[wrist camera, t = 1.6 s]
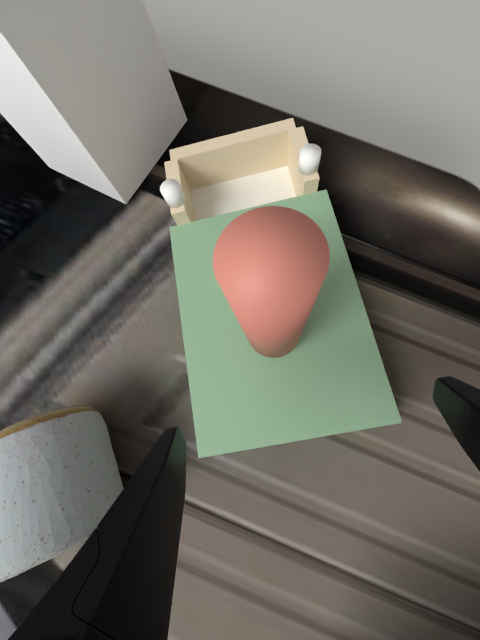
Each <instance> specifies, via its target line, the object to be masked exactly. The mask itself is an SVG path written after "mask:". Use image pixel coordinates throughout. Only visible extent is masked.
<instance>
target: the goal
mask: <svg viewBox="0 0 480 640" xmlns="http://www.w3.org/2000/svg"><path fill="white" fill-rule="evenodd" d="M169 151H170V159H171V161H167V162H164V164H165V171H166V179H167V180H166V181H164V182H163V183H162V184H161V186H160V192H161V193H162V195H163V197H164V199H165V200H166V202H167V204H168V206H169V207H170V210H171V215H172V217H173V218H174V220H175V222H176V224H177V225H182V224H186V223H190V222H193V221H197V220H201V219H205V218H209V217H213V216H218V215H222V214H226V213H230V212H234V211H239V210H243V209H247V208H251V207H255V206H259V205H264V204H268V203H272V202H276V201H280V200H284V199H289V198H293V197H297V196H301V195H307V194H311V193H315V192H317V189H318V184H319V179H320V178H319V175H318V168H319V162H320V157H321V148H320V147H319V146H318V145H316V144H309V143H308V140H307V137H306V134H305V131H304V128H303V127H299V128H296V126H295V123H294V120H293V118H290V119H286V120H283V121H279V122H275V123H271V124H267V125H263V126H260V127H256V128H252V129H248V130H244V131H240V132H237V133H233V134H229V135H225V136H221V137H217V138H214V139H210V140H206V141H202V142H198V143H194V144H191V145H187V146H183V147H179V148H175V149H171V150H169Z"/></svg>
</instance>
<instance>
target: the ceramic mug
mask: <svg viewBox="0 0 480 640" xmlns="http://www.w3.org/2000/svg"><path fill="white" fill-rule="evenodd" d="M123 489H124V488H123V485H122V481H121V478H120V474H119V470H118V466H117V462H116V459H115V456H114V452H113V449H112V445H111V441H110V437H109V433H108V429H107V426H106V424H105V422H104V419H103V417H102V415H101V414H100V412H99V411H98V410H97V409H94V408H92V407H89V406H77V407H69V408H64V409H58V410H54V411H50V412H47V413H43V414H40V415H36V416H33V417H30V418H28V419H25V420H23V421H20V422H18V423H15V424H13V425H11V426H9V427H7V428H5V429H3V430H2V431H0V582H2V581H5V580H6V579H9V578H11V577H14V576H16V575H18V574H19V573H22V572H25V571H26V570H28V569H30V568H32V567H34V566H36V565H39V564H41V563H43V562H45V561H47V560H49V559H51V558H53V557H55V556H57V555H59V554H61V553H63V552H65V551H67V550H68V549H70V548H72V547H73V546H75V545H77V544H78V543H80V542H81V541H83V540H85V539H87V538H89V536H90V535H91V533H92V532H93V531H94V529H95V528H97V525H98V524H99V522H100V521H101V520H102V518H103V517H104V515H105V514H106V513H107V511H108V510H109V508H110V507H111V506H112V504H113V503H114V501H115V500H116V499H117V497H118V496H119V494H120V493H121V491H122V490H123Z"/></svg>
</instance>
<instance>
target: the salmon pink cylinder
mask: <svg viewBox="0 0 480 640" xmlns="http://www.w3.org/2000/svg"><path fill="white" fill-rule="evenodd" d="M329 262H330V251H329V246H328V242H327V240H326V237H325V235H324V233H323V232H322V230H321V229H320V227H319V226H318V225H317V224H316V223H315V222H314V221H313V220H312V219H311V218H309V217H308V216H306V215H305V214H303V213H301V212H299V211H297V210H294V209H291V208H287V207H282V206H265V207H259V208H256V209H252V210H250V211H247V212H245V213H243V214H241V215H240V216H238V217H237V218H235V219H234V220H233V221H232V222H230V223H229V224H228V225H227V226H226V228H225V229H224V230H223V231H222V233H221V234H220V236H219V238H218V240H217V242H216V245H215V248H214V252H213V269H214V274H215V277H216V279H217V282H218V284H219V285H220V287H221V289H222V291H223V293H224V295H225V297H226V299H227V301H228V303H229V304H230V306H231V308H232V310H233V312H234V314H235V316H236V318H237V320H238V322H239V324H240V325H241V327H242V329H243V331H244V333H245V335H246V337H247V339H248V341H249V343H250V345H251V346H252V348H253V349H254V350H255V351H256V352H258V353H259V354H261V355H263V356H265V357H269V358H278V357H282V356H285V355H287V354H289V353H290V352H291V351H292V350H293V349H294V348H295V347H296V345H297V344H298V341H299V339H300V336H301V334H302V332H303V329H304V327H305V325H306V322H307V320H308V317H309V315H310V313H311V310H312V308H313V305H314V303H315V301H316V298H317V296H318V294H319V291H320V289H321V286H322V284H323V282H324V279H325V277H326V274H327V272H328V268H329Z"/></svg>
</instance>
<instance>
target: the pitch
mask: <svg viewBox="0 0 480 640" xmlns="http://www.w3.org/2000/svg"><path fill="white" fill-rule="evenodd" d="M265 206H282V207H287V208H291V209H294V210H297V211H299V212H301V213H303V214H305V215H306V216H308V217H309V218H311V219H312V220H313V221H314V222H315V223H316V224H317V225H318V226H319V227H320V229H321V230H322V232H323V233H324V235H325V237H326V240H327V242H328V246H329V251H330V262H329V268H328V272H327V274H326V277H325V279H324V282H323V284H322V286H321V289H320V291H319V294H318V296H317V298H316V301H315V303H314V305H313V308H312V310H311V313H310V315H309V317H308V320H307V322H306V325H305V327H304V329H303V332H302V334H301V336H300V339H299V341H298V344H297V345H296V347H295V348H294V349H293V350H292V351H291V352H290V353H289V354H287V355H285V356H282V357H278V358H269V357H265V356H263V355H261V354H259V353H258V352H256V351H255V350H254V349H253V348H252V346H251V345H250V343H249V341H248V339H247V337H246V335H245V333H244V331H243V329H242V327H241V325H240V324H239V322H238V320H237V318H236V316H235V314H234V312H233V310H232V308H231V306H230V304H229V303H228V301H227V299H226V297H225V295H224V293H223V291H222V289H221V287H220V285H219V284H218V282H217V279H216V277H215V274H214V269H213V252H214V248H215V245H216V242H217V240H218V238H219V236H220V234H221V233H222V231H223V230H224V229H225V228H226V226H227V225H228V224H229V223H230V222H232V221H233V220H234V219H235V218H237V217H238V216H240V215H241V214H243V213H245V212H247V211H250V210H252V209H256V208H259V207H265ZM169 228H170V236H171V244H172V252H173V260H174V268H175V276H176V284H177V292H178V300H179V308H180V316H181V324H182V332H183V340H184V348H185V356H186V364H187V372H188V379H189V387H190V395H191V403H192V411H193V419H194V427H195V435H196V443H197V451H198V458H202V457H208V456H214V455H220V454H225V453H231V452H237V451H242V450H248V449H254V448H260V447H265V446H271V445H277V444H283V443H288V442H294V441H300V440H305V439H311V438H317V437H323V436H328V435H334V434H340V433H346V432H351V431H357V430H363V429H368V428H374V427H380V426H386V425H391V424H397V423H402V421H401V418H400V415H399V412H398V409H397V405H396V402H395V399H394V396H393V393H392V390H391V387H390V384H389V381H388V378H387V375H386V371H385V368H384V365H383V362H382V359H381V356H380V353H379V350H378V347H377V344H376V341H375V338H374V334H373V331H372V328H371V325H370V322H369V319H368V316H367V313H366V310H365V307H364V304H363V301H362V297H361V294H360V291H359V288H358V285H357V282H356V279H355V276H354V273H353V270H352V267H351V264H350V260H349V257H348V254H347V251H346V248H345V245H344V242H343V239H342V236H341V233H340V230H339V227H338V223H337V220H336V217H335V214H334V211H333V208H332V205H331V202H330V199H329V196H328V193H327V189H326V190H322V191H318V192H315V193H311V194H307V195H301V196H297V197H293V198H289V199H284V200H280V201H276V202H272V203H268V204H264V205H259V206H255V207H251V208H247V209H243V210H239V211H234V212H230V213H226V214H222V215H218V216H213V217H209V218H205V219H201V220H197V221H193V222H190V223H186V224H182V225H176V226H172V227H169Z"/></svg>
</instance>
